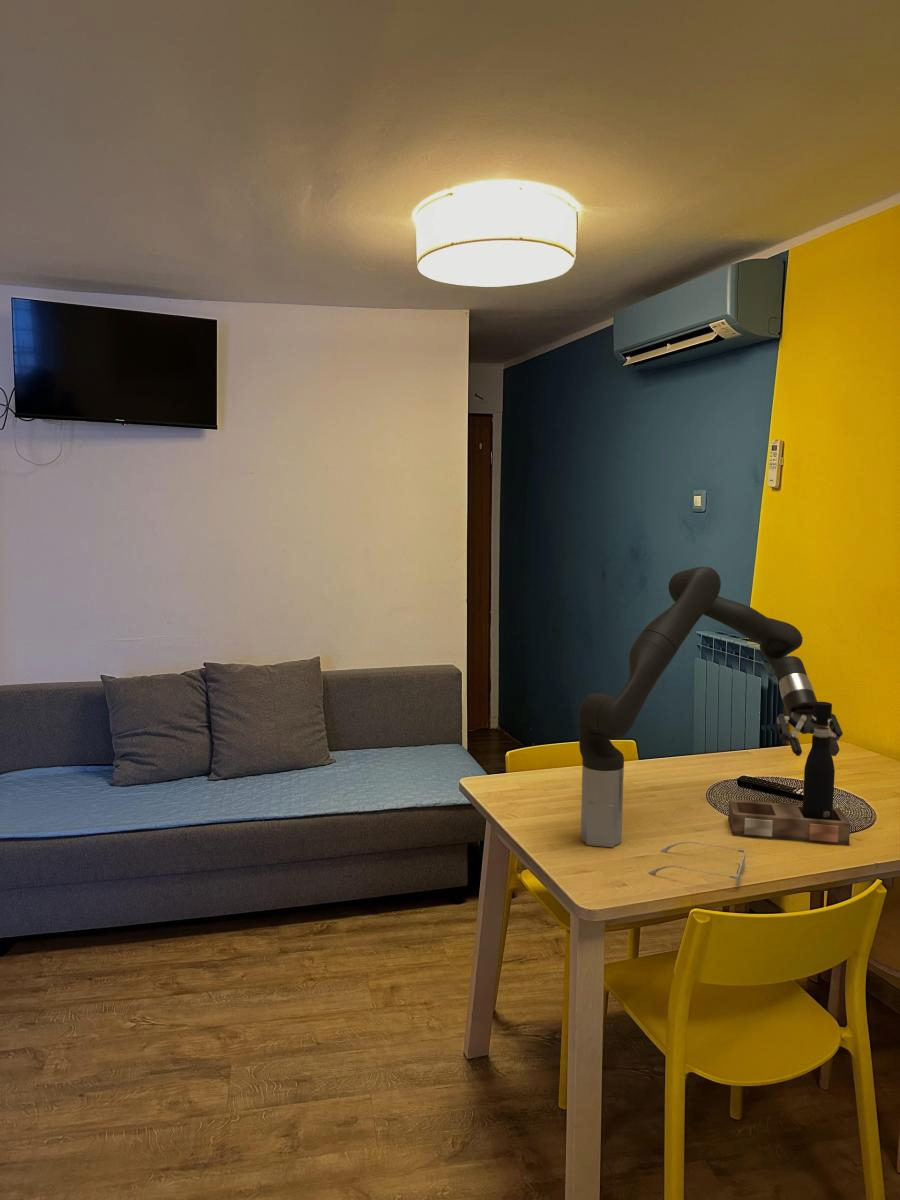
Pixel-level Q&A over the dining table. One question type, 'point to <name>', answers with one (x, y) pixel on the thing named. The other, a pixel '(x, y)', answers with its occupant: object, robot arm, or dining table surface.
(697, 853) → the dining table surface
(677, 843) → the eyeglasses
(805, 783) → the black insulated water bottle
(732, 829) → the socket board
